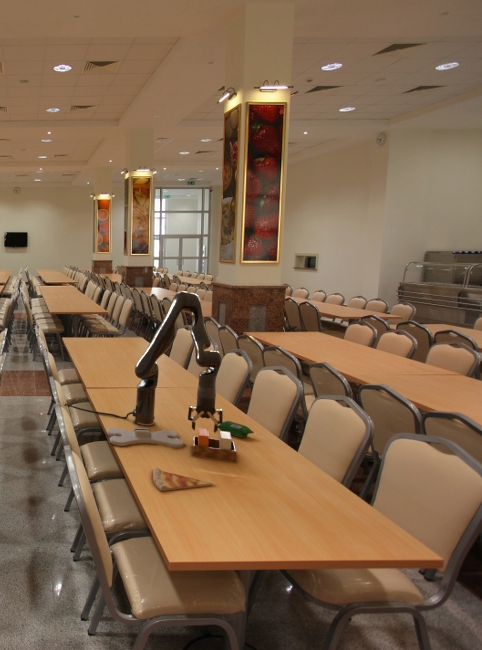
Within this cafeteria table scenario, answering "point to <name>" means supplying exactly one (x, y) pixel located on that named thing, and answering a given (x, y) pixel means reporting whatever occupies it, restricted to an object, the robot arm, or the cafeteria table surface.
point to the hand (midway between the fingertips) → (204, 430)
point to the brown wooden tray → (214, 450)
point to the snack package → (235, 428)
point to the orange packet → (203, 437)
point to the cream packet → (225, 440)
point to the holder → (144, 437)
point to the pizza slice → (175, 481)
